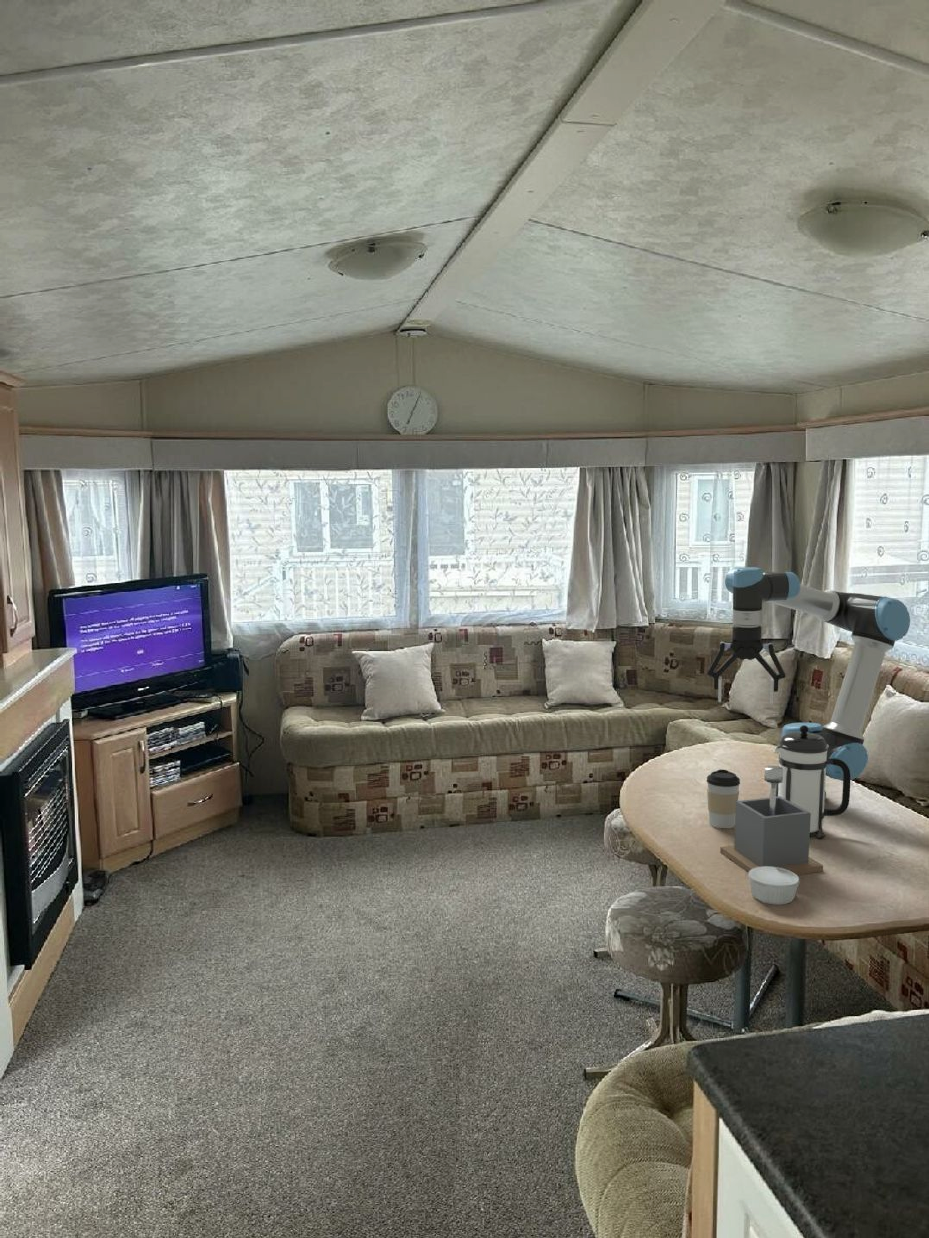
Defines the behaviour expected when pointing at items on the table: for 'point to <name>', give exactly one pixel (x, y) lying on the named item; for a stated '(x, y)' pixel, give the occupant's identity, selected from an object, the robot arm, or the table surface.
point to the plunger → (773, 784)
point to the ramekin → (773, 884)
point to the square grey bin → (772, 837)
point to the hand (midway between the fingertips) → (745, 702)
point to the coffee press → (809, 775)
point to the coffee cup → (722, 798)
